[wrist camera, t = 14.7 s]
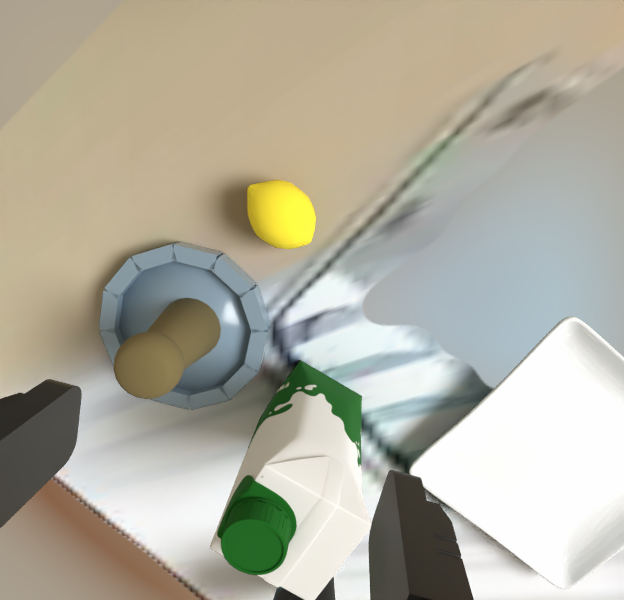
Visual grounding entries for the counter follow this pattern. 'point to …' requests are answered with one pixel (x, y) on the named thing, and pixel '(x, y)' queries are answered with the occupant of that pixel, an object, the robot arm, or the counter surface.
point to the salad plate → (543, 457)
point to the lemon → (280, 214)
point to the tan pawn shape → (166, 348)
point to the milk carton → (298, 487)
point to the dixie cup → (283, 596)
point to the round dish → (198, 285)
